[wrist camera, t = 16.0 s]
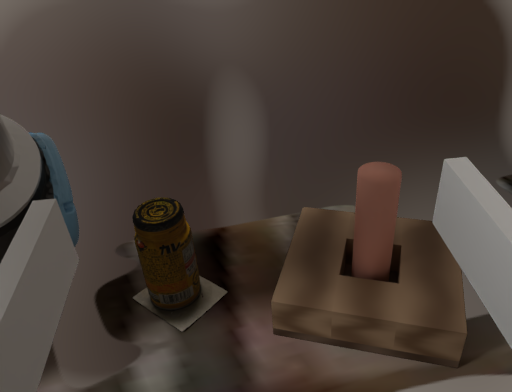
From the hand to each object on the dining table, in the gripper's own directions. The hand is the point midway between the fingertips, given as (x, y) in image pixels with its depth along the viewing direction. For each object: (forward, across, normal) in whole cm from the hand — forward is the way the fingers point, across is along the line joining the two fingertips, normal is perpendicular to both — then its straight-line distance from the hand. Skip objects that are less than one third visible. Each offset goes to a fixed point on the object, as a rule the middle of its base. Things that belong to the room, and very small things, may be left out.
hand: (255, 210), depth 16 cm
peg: (+23, +13, -30) cm, 40 cm away
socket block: (+23, +13, -31) cm, 41 cm away
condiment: (+26, -9, -31) cm, 42 cm away
